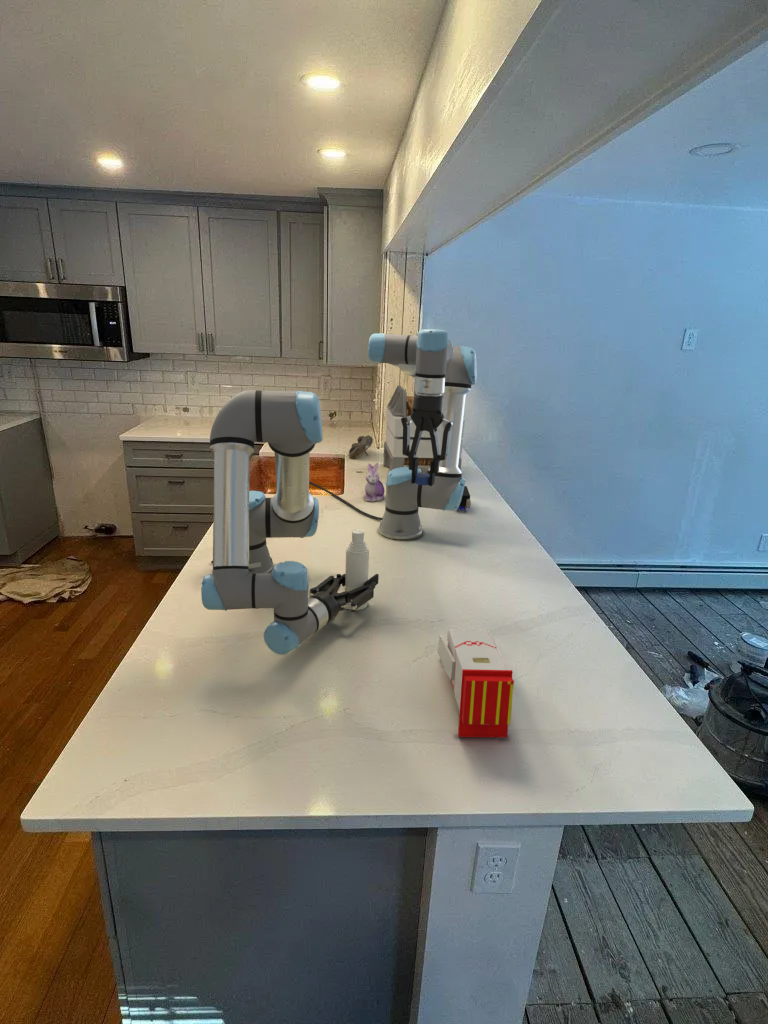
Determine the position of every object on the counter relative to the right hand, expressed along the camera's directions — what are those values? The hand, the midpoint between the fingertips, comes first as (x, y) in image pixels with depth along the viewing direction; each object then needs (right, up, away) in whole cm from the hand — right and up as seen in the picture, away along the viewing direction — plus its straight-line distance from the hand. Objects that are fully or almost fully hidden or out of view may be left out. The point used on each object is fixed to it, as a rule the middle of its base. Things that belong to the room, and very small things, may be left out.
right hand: (422, 483), depth 150 cm
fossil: (-23, +23, +154) cm, 157 cm away
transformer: (+7, +11, +125) cm, 126 cm away
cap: (0, +2, -1) cm, 2 cm away
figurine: (-14, -2, +85) cm, 87 cm away
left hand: (-15, -25, +3) cm, 29 cm away
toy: (+8, -45, -31) cm, 56 cm away
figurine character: (+21, -6, +79) cm, 82 cm away
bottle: (-18, -32, +1) cm, 37 cm away
